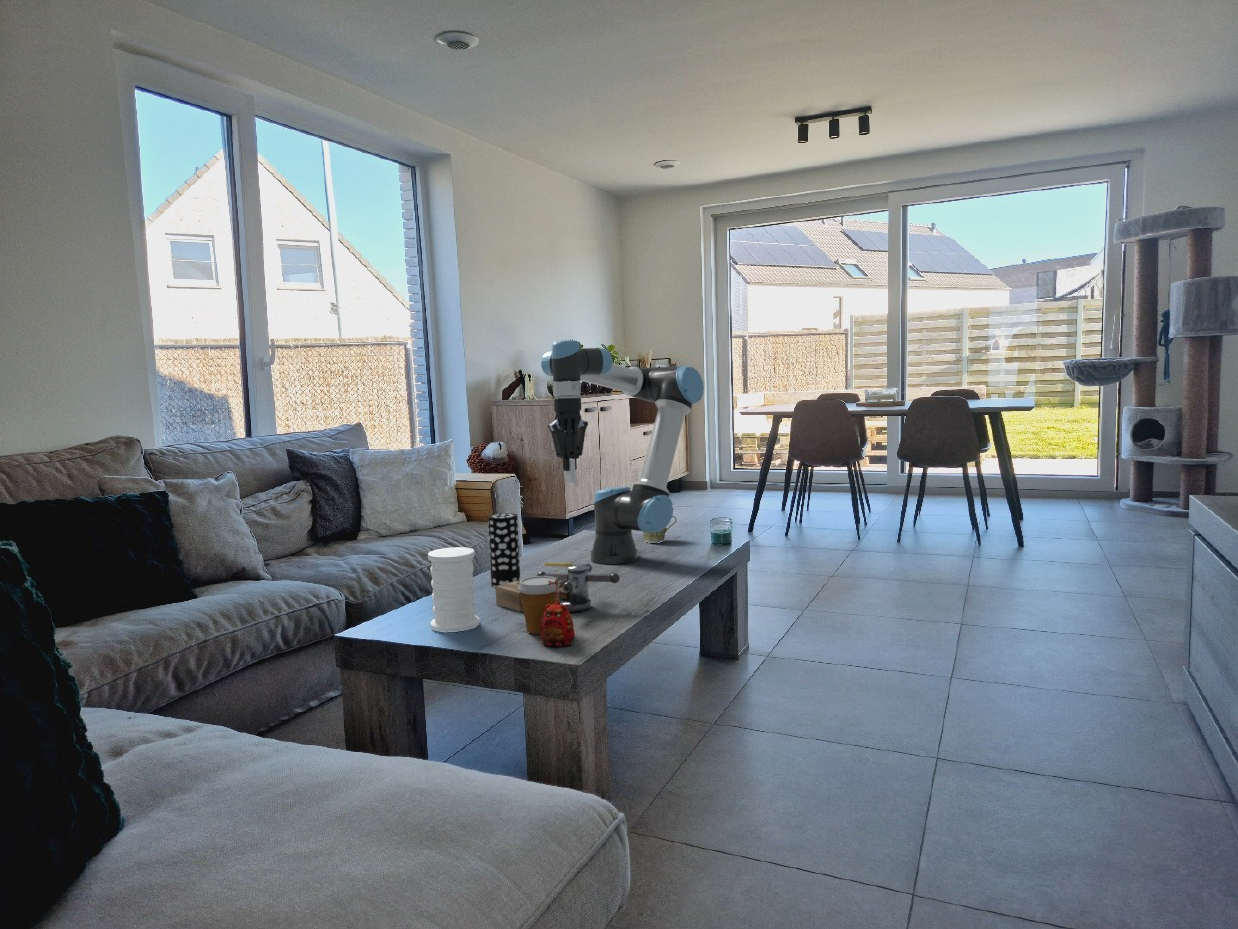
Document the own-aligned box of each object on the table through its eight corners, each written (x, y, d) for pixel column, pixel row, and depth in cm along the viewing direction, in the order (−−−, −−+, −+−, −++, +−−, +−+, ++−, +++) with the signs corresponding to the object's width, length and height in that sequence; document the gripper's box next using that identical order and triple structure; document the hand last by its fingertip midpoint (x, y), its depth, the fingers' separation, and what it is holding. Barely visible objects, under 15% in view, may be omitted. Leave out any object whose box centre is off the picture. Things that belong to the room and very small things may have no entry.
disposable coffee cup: (544, 639, 181) (542, 587, 180) (511, 633, 186) (509, 583, 185) (569, 628, 189) (567, 578, 188) (537, 622, 194) (534, 573, 193)
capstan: (628, 596, 213) (627, 554, 212) (611, 621, 192) (610, 574, 191) (550, 594, 218) (548, 553, 216) (525, 618, 197) (523, 573, 195)
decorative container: (469, 634, 187) (465, 557, 185) (422, 632, 189) (418, 557, 187) (486, 619, 198) (482, 547, 196) (441, 618, 200) (437, 546, 198)
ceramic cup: (638, 545, 280) (637, 516, 279) (642, 539, 289) (641, 511, 288) (675, 545, 277) (675, 516, 276) (678, 539, 287) (677, 511, 286)
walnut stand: (550, 590, 223) (549, 570, 222) (588, 601, 211) (588, 580, 211) (496, 604, 210) (495, 583, 210) (534, 616, 199) (533, 594, 198)
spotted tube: (526, 584, 231) (523, 515, 229) (503, 590, 225) (500, 519, 223) (508, 579, 236) (504, 512, 234) (485, 585, 230) (481, 516, 228)
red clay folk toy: (537, 648, 175) (534, 581, 174) (545, 638, 182) (543, 573, 181) (571, 649, 174) (569, 581, 172) (578, 638, 181) (576, 573, 179)
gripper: (557, 398, 214) (561, 486, 217) (594, 396, 223) (596, 480, 226) (540, 398, 220) (543, 484, 222) (576, 396, 229) (579, 478, 231)
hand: (570, 482), depth 224 cm, fingers closed
